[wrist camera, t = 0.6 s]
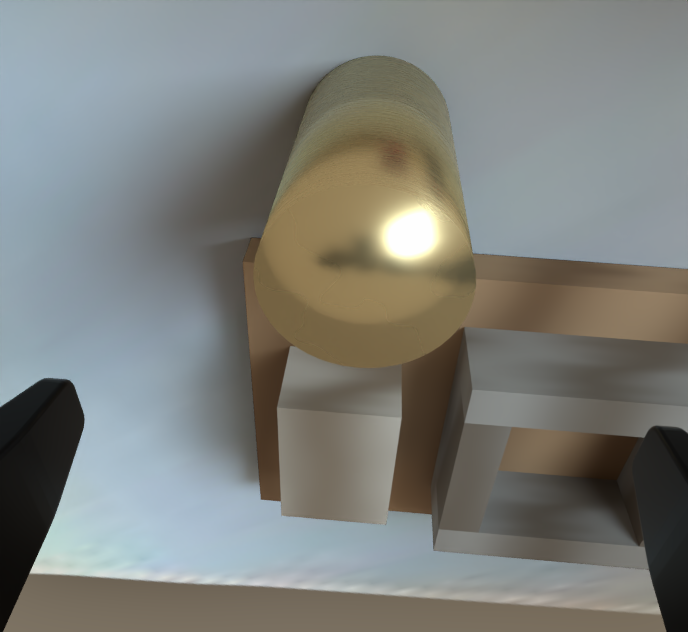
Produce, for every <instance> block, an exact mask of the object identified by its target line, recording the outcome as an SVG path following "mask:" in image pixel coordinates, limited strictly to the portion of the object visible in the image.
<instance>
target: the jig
mask: <svg viewBox="0 0 688 632" xmlns="http://www.w3.org/2000/svg"><path fill="white" fill-rule="evenodd" d="M260 241H261V238H251V240H250V243H249V246H248V249H247V251H246V254H245V257H244V259H243V272H244V285H245V298H246V312H247V325H248V338H249V351H250V364H251V377H252V390H253V403H254V416H255V429H256V442H257V455H258V468H259V481H260V494H261V500H273V501H281V513H282V516H292V517H304V518H315V519H327V520H338V521H350V522H361V523H372V524H384V525H386V522H387V515H388V510H389V511H400V512H412V513H423V514H432V527H433V549H434V551H443V552H454V553H466V554H477V555H488V556H500V557H511V558H522V559H534V560H545V561H556V562H568V563H579V564H590V565H602V566H613V567H624V568H636V569H647V570H649V568H648V563H647V557H646V552H645V547H644V541H643V535H642V529H641V523H640V517H639V511H638V505H637V499H636V493H635V487H634V481H633V475H632V463H633V459H634V457H635V455H636V453H637V451H638V449H639V447H640V445H641V443H642V441H643V439H644V437H645V435H646V433H647V432H648V430H649V429H650V428H651V427H652V426H656V425H659V426H672V427H679V428H682V429H683V430H685V431H686V432H687V433H688V269H677V268H663V267H649V266H635V265H621V264H608V263H594V262H580V261H566V260H552V259H539V258H525V257H511V256H497V255H483V254H473V258H474V264H475V270H476V288H475V295H474V299H473V302H472V305H471V308H470V310H469V312H468V314H467V316H466V318H465V320H464V321H463V323H462V324H461V326H460V327H459V328H458V330H457V331H456V332H455V333H454V334H453V335H452V336H451V337H450V338H449V339H448V340H447V341H446V342H444V343H443V344H442V345H441V346H439V347H438V348H436V349H435V350H433V351H432V352H430V353H428V354H426V355H424V356H422V357H420V358H417V359H415V360H412V361H410V362H406V363H403V364H399V365H394V366H388V367H380V368H356V367H348V366H342V365H338V364H333V363H330V362H327V361H324V360H321V359H318V358H316V357H314V356H311V355H309V354H307V353H305V352H304V351H302V350H300V349H299V348H297V347H295V346H294V345H293V344H291V343H290V342H289V341H287V340H286V339H285V338H284V337H283V336H282V335H281V334H280V333H279V332H278V331H277V330H276V329H275V328H274V327H273V325H272V324H271V323H270V322H269V320H268V319H267V317H266V316H265V314H264V312H263V310H262V308H261V306H260V304H259V302H258V298H257V295H256V292H255V286H254V279H253V272H254V262H255V256H256V253H257V250H258V247H259V244H260Z"/></svg>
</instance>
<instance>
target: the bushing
mask: <svg viewBox="0 0 688 632" xmlns="http://www.w3.org/2000/svg"><path fill="white" fill-rule="evenodd" d="M253 279H254V286H255V292H256V295H257V298H258V302H259V304H260V306H261V308H262V310H263V312H264V314H265V316H266V317H267V319H268V320H269V322H270V323H271V324H272V325H273V327H274V328H275V329H276V330H277V331H278V332H279V333H280V334H281V335H282V336H283V337H284V338H285V339H286V340H287V341H289V342H290V343H291V344H293V345H294V346H295V347H297V348H299V349H300V350H302V351H304V352H305V353H307V354H309V355H311V356H314V357H316V358H318V359H321V360H324V361H327V362H330V363H333V364H338V365H342V366H348V367H356V368H380V367H388V366H394V365H399V364H403V363H406V362H410V361H412V360H415V359H417V358H420V357H422V356H424V355H426V354H428V353H430V352H432V351H433V350H435V349H436V348H438V347H439V346H441V345H442V344H443V343H444V342H446V341H447V340H448V339H449V338H450V337H451V336H452V335H453V334H454V333H455V332H456V331H457V330H458V328H459V327H460V326H461V324H462V323H463V321H464V320H465V318H466V316H467V314H468V312H469V310H470V308H471V305H472V302H473V299H474V295H475V288H476V270H475V264H474V258H473V252H472V246H471V241H470V235H469V229H468V223H467V217H466V211H465V205H464V200H463V194H462V188H461V182H460V176H459V170H458V164H457V159H456V153H455V147H454V141H453V135H452V129H451V123H450V118H449V112H448V108H447V105H446V102H445V99H444V97H443V95H442V93H441V91H440V90H439V88H438V87H437V86H436V84H435V83H434V82H433V81H432V79H431V78H430V77H429V76H428V75H427V74H425V73H424V72H423V71H422V70H420V69H419V68H417V67H416V66H414V65H412V64H410V63H408V62H406V61H403V60H401V59H397V58H393V57H387V56H367V57H361V58H357V59H354V60H351V61H348V62H346V63H344V64H342V65H340V66H338V67H337V68H335V69H334V70H332V71H331V72H330V73H329V74H328V75H326V76H325V77H324V78H323V80H322V81H321V82H320V83H319V84H318V86H317V87H316V88H315V90H314V91H313V93H312V95H311V97H310V99H309V102H308V104H307V107H306V110H305V113H304V116H303V119H302V122H301V125H300V128H299V131H298V133H297V136H296V139H295V142H294V145H293V148H292V151H291V154H290V157H289V160H288V163H287V165H286V168H285V171H284V174H283V177H282V180H281V183H280V186H279V189H278V192H277V194H276V197H275V200H274V203H273V206H272V209H271V212H270V215H269V218H268V221H267V224H266V226H265V229H264V232H263V235H262V238H261V241H260V244H259V247H258V250H257V253H256V256H255V262H254V272H253Z"/></svg>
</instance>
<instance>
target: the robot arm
mask: <svg viewBox="0 0 688 632" xmlns="http://www.w3.org/2000/svg"><path fill="white" fill-rule="evenodd" d="M83 428H84V413H83V410H82V407H81V404H80V401H79V398H78V395H77V392H76V390H75V387H74V385H73V383H72V382H71V381H70V380H67V379H55V378H44V379H42V380H40V381H38V382H37V383H35V384H34V385H32V386H31V387H29V388H28V389H26V390H25V391H23V392H22V393H20V394H19V395H17V396H16V397H14V398H13V399H12V400H10V401H9V402H7V403H6V404H4V405H3V406H1V407H0V632H3V630H4V628H5V626H6V624H7V622H8V619H9V617H10V615H11V613H12V610H13V608H14V606H15V604H16V602H17V599H18V597H19V595H20V593H21V591H22V588H23V586H24V584H25V582H26V580H27V577H28V575H29V573H30V571H31V568H32V566H33V564H34V562H35V560H36V557H37V555H38V553H39V551H40V549H41V546H42V544H43V542H44V540H45V537H46V535H47V533H48V531H49V528H50V526H51V524H52V521H53V519H54V517H55V514H56V511H57V508H58V505H59V503H60V500H61V497H62V493H63V490H64V487H65V484H66V481H67V478H68V475H69V472H70V469H71V466H72V463H73V459H74V456H75V453H76V450H77V447H78V444H79V441H80V438H81V435H82V432H83ZM632 475H633V481H634V487H635V493H636V499H637V505H638V511H639V517H640V523H641V529H642V535H643V541H644V547H645V552H646V557H647V563H648V568H649V571H650V575H651V579H652V583H653V586H654V590H655V593H656V597H657V600H658V604H659V607H660V611H661V614H662V618H663V621H664V625H665V628H666V632H688V433H687V432H686V431H685V430H683V429H682V428H679V427H672V426H659V425H656V426H652V427H651V428H650V429H649V430H648V432H647V433H646V435H645V437H644V439H643V441H642V443H641V445H640V447H639V449H638V451H637V453H636V455H635V457H634V459H633V463H632Z"/></svg>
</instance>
